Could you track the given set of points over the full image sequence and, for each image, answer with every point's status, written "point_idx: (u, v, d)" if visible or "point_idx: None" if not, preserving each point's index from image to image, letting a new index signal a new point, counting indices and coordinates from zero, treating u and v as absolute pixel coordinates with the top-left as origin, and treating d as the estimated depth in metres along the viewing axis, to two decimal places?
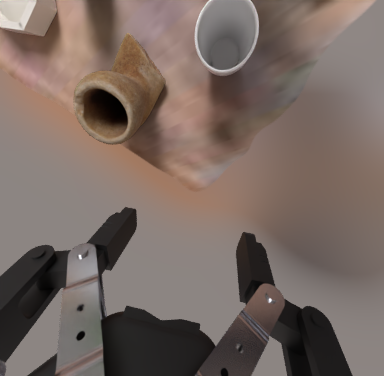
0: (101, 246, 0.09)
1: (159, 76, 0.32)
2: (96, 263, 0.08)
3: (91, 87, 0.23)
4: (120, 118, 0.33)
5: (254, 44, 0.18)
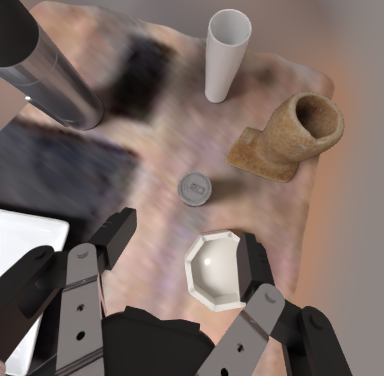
0: (101, 246, 0.09)
1: (246, 130, 0.37)
2: (96, 263, 0.08)
3: (298, 121, 0.24)
4: None
5: (229, 9, 0.26)
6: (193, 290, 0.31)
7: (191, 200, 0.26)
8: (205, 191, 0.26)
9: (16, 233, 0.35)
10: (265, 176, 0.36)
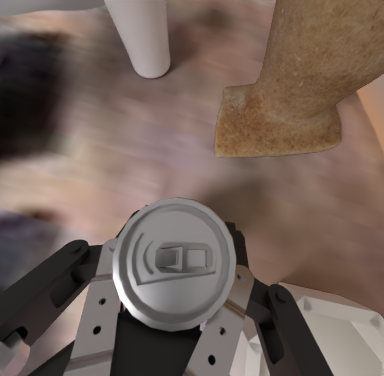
0: None
1: (226, 90, 0.20)
2: None
3: None
4: None
5: None
6: None
7: (181, 312, 0.07)
8: (215, 254, 0.07)
9: None
10: (298, 150, 0.19)
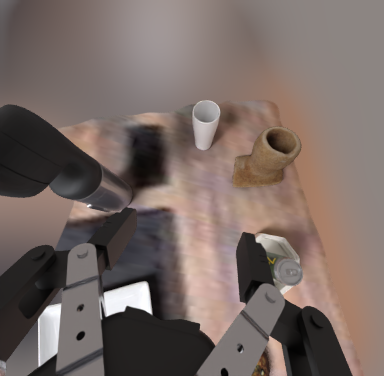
0: (101, 246, 0.09)
1: (236, 159, 0.51)
2: (96, 263, 0.08)
3: (273, 149, 0.38)
4: None
5: (200, 101, 0.41)
6: None
7: (292, 282, 0.33)
8: (298, 271, 0.34)
9: (107, 310, 0.43)
10: (264, 184, 0.49)
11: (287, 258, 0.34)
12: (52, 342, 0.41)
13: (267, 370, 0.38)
